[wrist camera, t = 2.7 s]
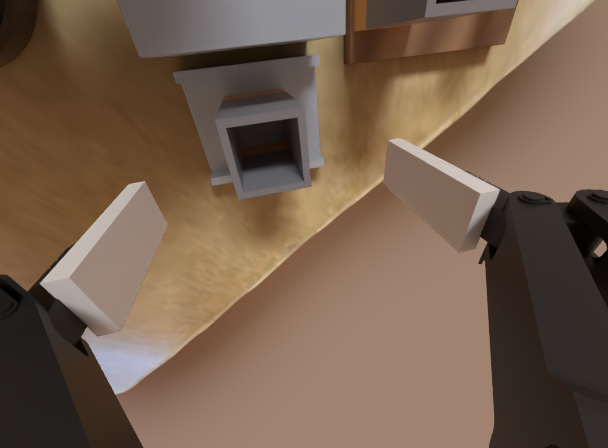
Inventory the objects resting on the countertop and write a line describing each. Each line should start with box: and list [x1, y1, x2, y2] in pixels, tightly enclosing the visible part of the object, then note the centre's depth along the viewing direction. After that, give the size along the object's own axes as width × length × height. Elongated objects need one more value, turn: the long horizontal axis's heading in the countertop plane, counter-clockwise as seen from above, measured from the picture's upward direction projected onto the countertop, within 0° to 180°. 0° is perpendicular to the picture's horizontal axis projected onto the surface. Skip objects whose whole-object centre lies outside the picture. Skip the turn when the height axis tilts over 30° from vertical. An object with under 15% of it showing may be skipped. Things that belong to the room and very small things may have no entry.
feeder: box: [116, 0, 346, 186], centre depth 19 cm, size 12×15×10 cm
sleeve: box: [215, 89, 311, 200], centre depth 20 cm, size 5×5×10 cm
